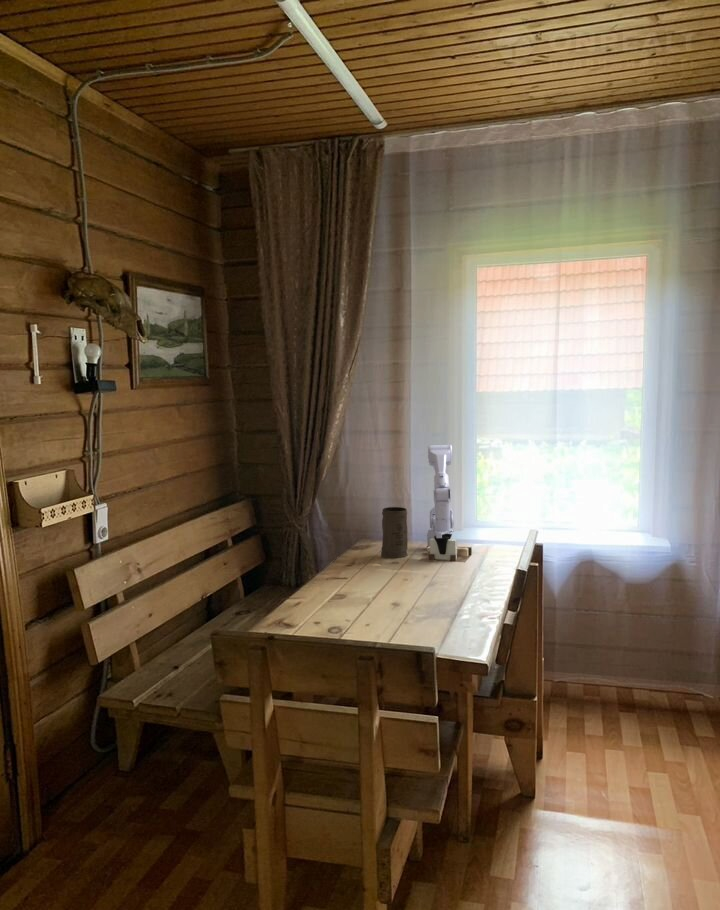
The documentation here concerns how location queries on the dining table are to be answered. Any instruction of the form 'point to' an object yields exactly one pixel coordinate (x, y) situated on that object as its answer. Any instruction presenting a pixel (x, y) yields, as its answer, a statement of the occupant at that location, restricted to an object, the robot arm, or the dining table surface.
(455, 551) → the panel
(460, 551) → the offcut right
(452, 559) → the rack
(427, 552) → the offcut left
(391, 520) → the beer stein
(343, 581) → the dining table surface
